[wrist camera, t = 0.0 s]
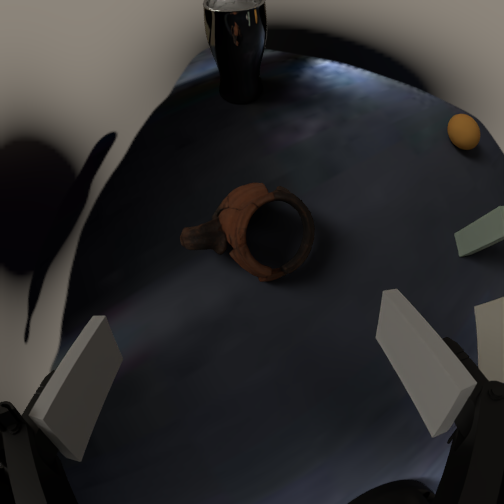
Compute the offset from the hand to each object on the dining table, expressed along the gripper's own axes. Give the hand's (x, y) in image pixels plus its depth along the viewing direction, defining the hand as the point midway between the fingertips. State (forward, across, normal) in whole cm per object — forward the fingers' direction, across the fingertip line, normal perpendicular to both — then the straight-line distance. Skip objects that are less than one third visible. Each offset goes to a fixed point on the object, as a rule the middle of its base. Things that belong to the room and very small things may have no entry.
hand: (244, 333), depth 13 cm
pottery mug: (+18, 0, +2) cm, 18 cm away
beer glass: (+31, -1, -16) cm, 35 cm away
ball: (+23, -33, -10) cm, 42 cm away
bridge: (+16, -33, +4) cm, 37 cm away
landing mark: (+8, -33, +15) cm, 38 cm away
